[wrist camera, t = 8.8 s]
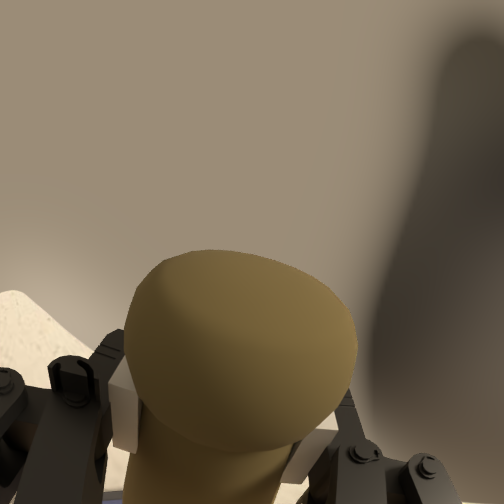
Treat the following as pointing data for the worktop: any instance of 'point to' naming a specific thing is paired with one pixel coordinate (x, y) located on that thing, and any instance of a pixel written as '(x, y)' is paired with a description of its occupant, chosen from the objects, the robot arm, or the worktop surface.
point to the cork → (230, 375)
